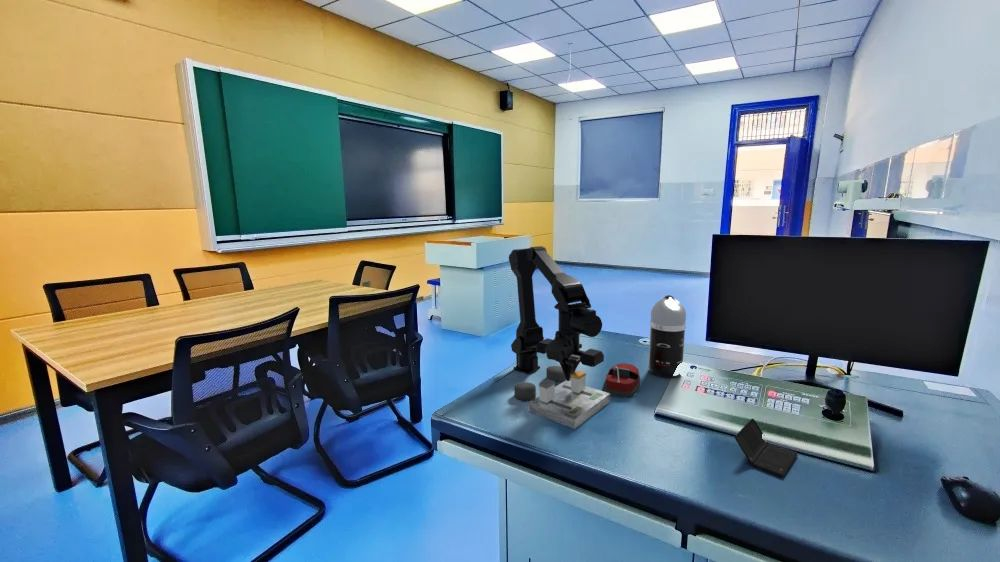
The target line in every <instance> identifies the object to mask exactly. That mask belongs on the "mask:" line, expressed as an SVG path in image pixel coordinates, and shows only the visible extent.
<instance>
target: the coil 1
mask: <svg viewBox="0 0 1000 562" xmlns="http://www.w3.org/2000/svg"><path fill="white" fill-rule="evenodd" d="M536 391H537V386H536V384H534V383H531V382H527V381H523V382H519V383H515V385H514V399H515V400H517V401H520V402H530V401H532V400H534V399H536V398H537V393H536Z"/></svg>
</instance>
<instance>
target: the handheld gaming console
mask: <svg viewBox="0 0 1000 562" xmlns="http://www.w3.org/2000/svg"><path fill="white" fill-rule="evenodd" d="M762 434H764V432H763V431H762V430H761V428H760V426H759V425H758V423H757V421H756V420H755V419H754V418H750V419H749V421H748V422H747V423H746V424H745V425H744V426H743V427H742V428H741V429H740V430H739V431H738V432H737V433H736V434H735V436H734V440H736V442H737V444H738V445H739V448H740V449H741V451H742V452H743V454H744V455H745V457H746V459H747V460H748V462H749V467H752V468H755V469H757V470H759V471H763V472H766V473H767V474H769V475H773V476H775V477H778V478H780V479H783V478H784V477H785V476H786V474H787V472H788V471H789V469H790V468H791V466H792V465H791V464H793V463H794V462H793V461H795V460H796V458H797V457H796V456H798V452H797V451H794V450H791V449H790V448H789V449H788V448H786V447H783V446H780V445H777V444H775V445H772V444H773V443H772V444H769V443H768V442H765V441H764V440H763V439H762ZM795 457H796V458H795ZM794 459H795V460H794ZM792 462H793V463H792ZM789 467H790V468H789ZM784 475H785V476H784Z"/></svg>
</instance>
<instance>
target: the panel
mask: <svg viewBox="0 0 1000 562" xmlns="http://www.w3.org/2000/svg"><path fill="white" fill-rule="evenodd" d="M609 403H611V395H610V393H607V392H604V390H603V391H602V390H600V389H597V388H593V387H590V386H587V385H585V389H584V390H583V391H581V392H580V393H576V392H573V391H571V381H564V382H562V383H558V385H555V398H554V399H553V400H551V401H549V402H548V403H545V402H542V401H540V400H539V396H536V398H535V399H534V400H532V401H528V412H530V413H533V414H534V415H535V414H536V415H538V416H540V417H542V418H545V419H548V420H551V421H553V422H555V423H557V424H561V425H563V426H566V427H569V428H571V429H573V430H576V429H577V428H578V427H579V426H581V425H582V424H584V422H586V421H588V420H589V419H590V418H591V417H592V416H594V415H596V413H598V412H599V411H600V410H602V409H603V408H605V406H607V405H608V404H609Z"/></svg>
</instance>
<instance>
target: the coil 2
mask: <svg viewBox="0 0 1000 562" xmlns="http://www.w3.org/2000/svg"><path fill="white" fill-rule="evenodd" d="M546 379H550V380H553V381H555V384H561V382H564V381H566V378H565V375H564V372H563V370H562V367H561V365H551V366H547V368H546Z"/></svg>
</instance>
